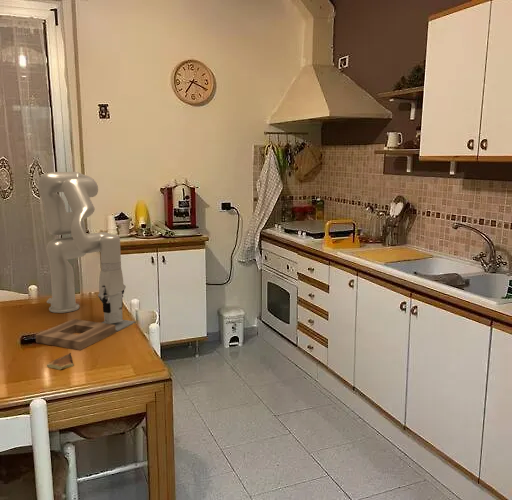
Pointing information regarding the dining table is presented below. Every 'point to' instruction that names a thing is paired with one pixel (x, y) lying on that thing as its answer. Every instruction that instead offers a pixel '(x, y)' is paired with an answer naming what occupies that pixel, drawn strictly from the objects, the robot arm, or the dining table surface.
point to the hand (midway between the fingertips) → (113, 309)
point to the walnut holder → (67, 339)
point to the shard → (61, 362)
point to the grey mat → (121, 324)
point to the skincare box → (114, 309)
